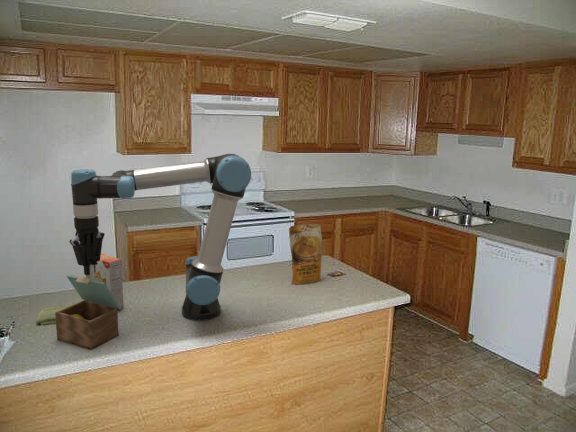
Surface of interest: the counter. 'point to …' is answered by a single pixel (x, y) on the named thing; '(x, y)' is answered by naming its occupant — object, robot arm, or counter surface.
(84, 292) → the lid
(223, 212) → the robot arm
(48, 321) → the washcloth
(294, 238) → the pancake mix bag
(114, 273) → the cracker box
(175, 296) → the counter surface
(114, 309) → the box
